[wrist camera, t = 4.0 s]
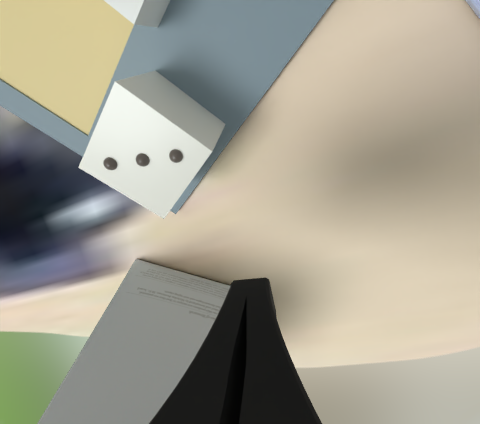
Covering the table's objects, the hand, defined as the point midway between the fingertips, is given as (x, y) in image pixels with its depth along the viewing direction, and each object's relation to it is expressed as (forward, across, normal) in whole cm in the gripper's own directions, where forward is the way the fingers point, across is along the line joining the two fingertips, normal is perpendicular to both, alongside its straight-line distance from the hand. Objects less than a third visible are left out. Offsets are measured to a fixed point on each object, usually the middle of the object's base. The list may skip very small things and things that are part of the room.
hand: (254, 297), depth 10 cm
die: (+8, +4, -5) cm, 11 cm away
